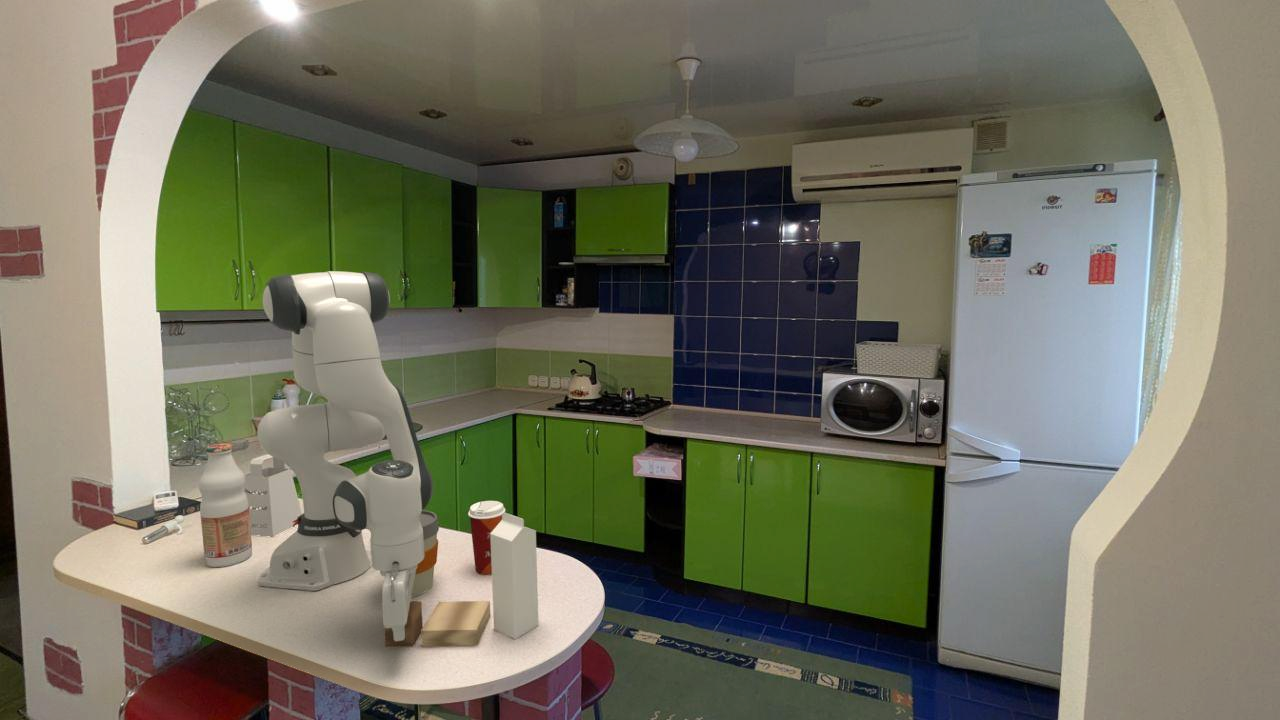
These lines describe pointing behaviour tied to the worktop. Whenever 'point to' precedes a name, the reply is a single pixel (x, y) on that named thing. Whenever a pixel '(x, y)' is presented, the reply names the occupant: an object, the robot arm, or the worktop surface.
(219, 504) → the fruit juice
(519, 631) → the milk
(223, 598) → the worktop surface
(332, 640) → the worktop surface
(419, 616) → the walnut cube
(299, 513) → the grater
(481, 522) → the coffee cup
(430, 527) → the reusable coffee cup
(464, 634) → the oak plinth
